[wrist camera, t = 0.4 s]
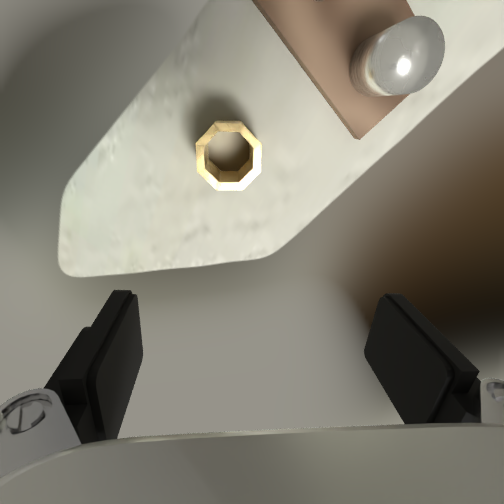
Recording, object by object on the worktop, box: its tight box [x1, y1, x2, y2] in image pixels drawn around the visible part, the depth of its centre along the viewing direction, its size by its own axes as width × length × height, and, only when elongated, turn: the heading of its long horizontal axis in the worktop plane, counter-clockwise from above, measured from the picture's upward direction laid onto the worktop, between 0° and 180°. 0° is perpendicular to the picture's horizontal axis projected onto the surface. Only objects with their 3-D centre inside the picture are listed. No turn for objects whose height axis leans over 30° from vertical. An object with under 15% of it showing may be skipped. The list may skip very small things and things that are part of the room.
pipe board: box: [252, 0, 414, 140], centre depth 28 cm, size 10×18×2 cm, turn 44°
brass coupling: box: [196, 120, 261, 190], centre depth 30 cm, size 6×6×6 cm
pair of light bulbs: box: [314, 0, 445, 97], centre depth 25 cm, size 5×13×7 cm, turn 44°
